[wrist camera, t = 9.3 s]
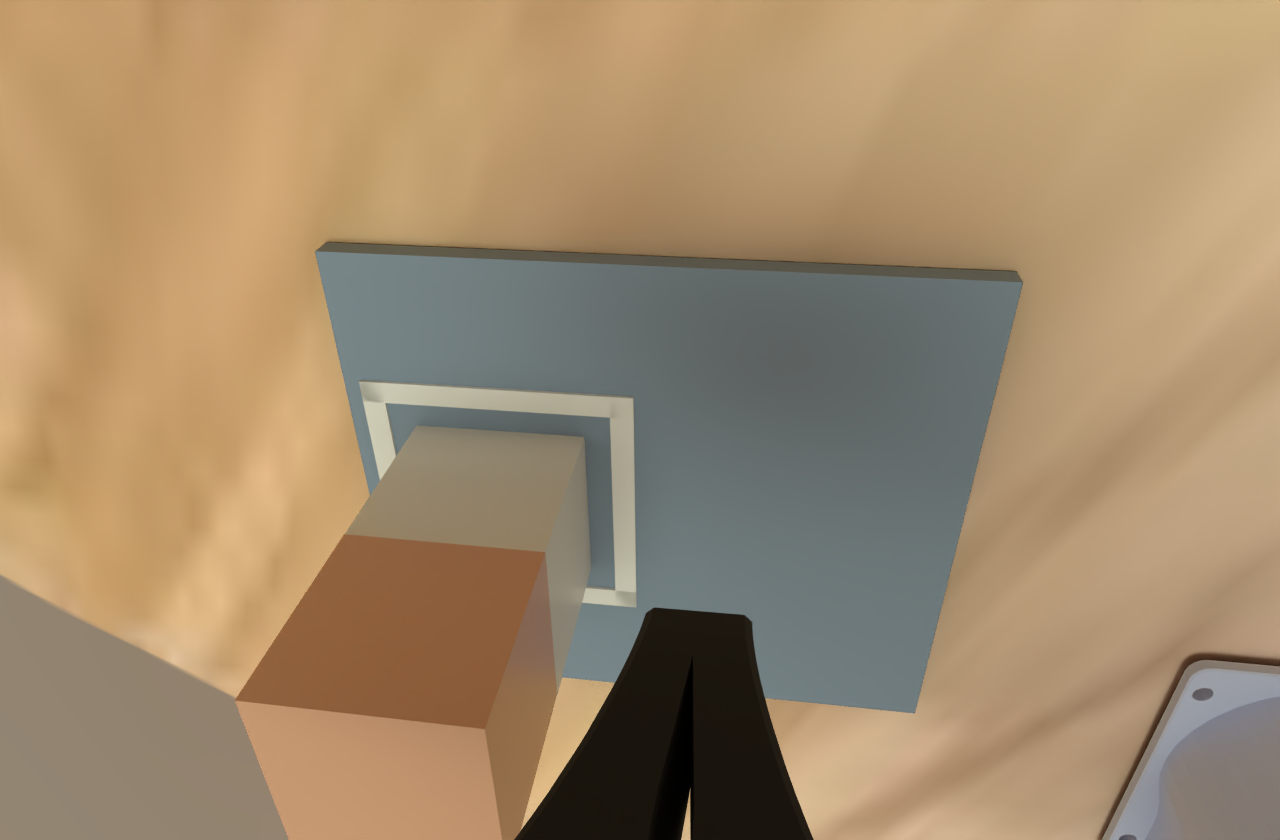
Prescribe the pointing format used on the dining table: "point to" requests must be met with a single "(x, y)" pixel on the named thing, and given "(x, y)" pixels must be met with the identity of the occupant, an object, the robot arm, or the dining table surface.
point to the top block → (407, 693)
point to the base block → (493, 505)
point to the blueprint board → (709, 431)
